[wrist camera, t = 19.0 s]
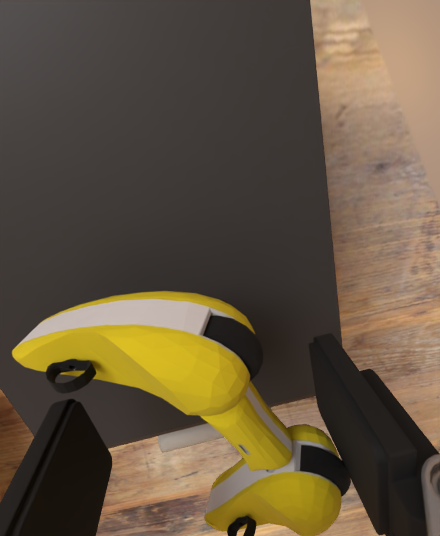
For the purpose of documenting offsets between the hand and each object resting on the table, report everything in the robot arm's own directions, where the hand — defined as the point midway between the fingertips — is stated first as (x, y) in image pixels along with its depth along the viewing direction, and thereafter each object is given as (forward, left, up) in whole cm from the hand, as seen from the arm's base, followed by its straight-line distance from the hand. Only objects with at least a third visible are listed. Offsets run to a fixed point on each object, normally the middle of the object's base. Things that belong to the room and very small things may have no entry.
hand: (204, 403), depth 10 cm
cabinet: (+1, -4, -12) cm, 12 cm away
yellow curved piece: (0, 0, -1) cm, 1 cm away
